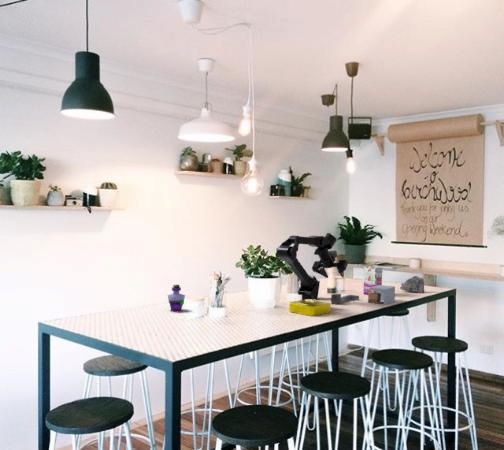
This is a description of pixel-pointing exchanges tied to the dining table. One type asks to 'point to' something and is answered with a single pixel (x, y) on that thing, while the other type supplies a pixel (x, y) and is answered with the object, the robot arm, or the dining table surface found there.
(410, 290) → the mineral rock
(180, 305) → the potion bottle
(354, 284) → the dining table surface
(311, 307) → the element tile
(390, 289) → the cubby
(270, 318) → the dining table surface
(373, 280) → the candy bar box
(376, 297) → the cube
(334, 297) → the hook tool
